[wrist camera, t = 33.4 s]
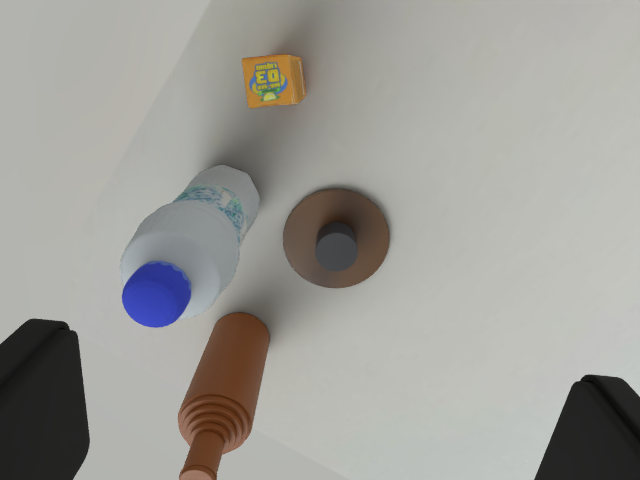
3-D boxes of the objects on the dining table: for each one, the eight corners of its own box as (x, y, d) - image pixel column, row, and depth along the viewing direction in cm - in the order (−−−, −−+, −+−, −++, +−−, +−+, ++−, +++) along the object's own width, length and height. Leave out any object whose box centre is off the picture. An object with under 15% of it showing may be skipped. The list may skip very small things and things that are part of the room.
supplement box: (302, 52, 37) (293, 52, 28) (306, 96, 38) (299, 110, 29) (261, 57, 37) (239, 58, 28) (267, 100, 39) (248, 115, 29)
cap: (360, 225, 42) (362, 237, 40) (350, 261, 44) (352, 275, 41) (320, 218, 42) (319, 229, 39) (312, 254, 43) (311, 267, 41)
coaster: (279, 279, 45) (279, 282, 45) (287, 182, 41) (287, 184, 41) (379, 290, 45) (380, 293, 45) (396, 194, 42) (397, 196, 41)
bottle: (233, 242, 44) (163, 381, 25) (177, 195, 42) (57, 308, 23) (279, 193, 42) (240, 306, 23) (222, 142, 40) (131, 220, 22)
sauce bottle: (212, 357, 49) (155, 509, 33) (212, 309, 47) (150, 447, 30) (268, 362, 49) (238, 515, 33) (270, 314, 47) (240, 453, 30)
